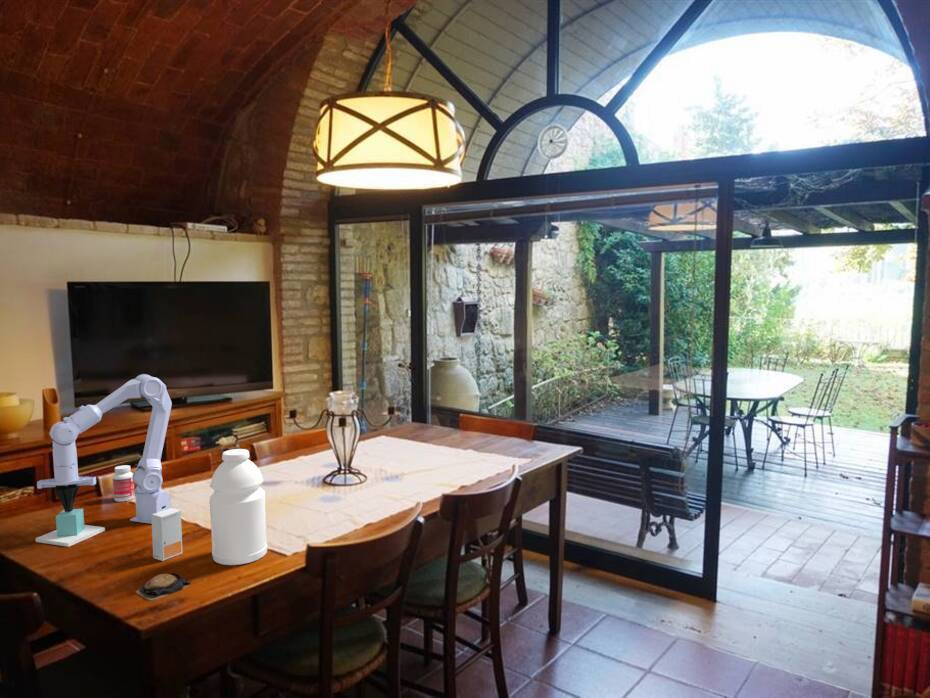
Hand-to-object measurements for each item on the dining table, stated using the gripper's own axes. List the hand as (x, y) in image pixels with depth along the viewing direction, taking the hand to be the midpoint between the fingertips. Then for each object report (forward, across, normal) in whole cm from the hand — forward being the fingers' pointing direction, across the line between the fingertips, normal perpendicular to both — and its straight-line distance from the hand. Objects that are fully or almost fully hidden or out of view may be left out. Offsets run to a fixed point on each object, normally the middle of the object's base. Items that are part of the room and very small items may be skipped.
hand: (69, 510), depth 185 cm
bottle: (+8, -50, +24) cm, 56 cm away
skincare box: (+8, -31, +20) cm, 38 cm away
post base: (+8, 0, 0) cm, 8 cm away
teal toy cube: (+6, 0, 0) cm, 7 cm away
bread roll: (+8, -35, +40) cm, 53 cm away
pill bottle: (+8, -5, -32) cm, 33 cm away
